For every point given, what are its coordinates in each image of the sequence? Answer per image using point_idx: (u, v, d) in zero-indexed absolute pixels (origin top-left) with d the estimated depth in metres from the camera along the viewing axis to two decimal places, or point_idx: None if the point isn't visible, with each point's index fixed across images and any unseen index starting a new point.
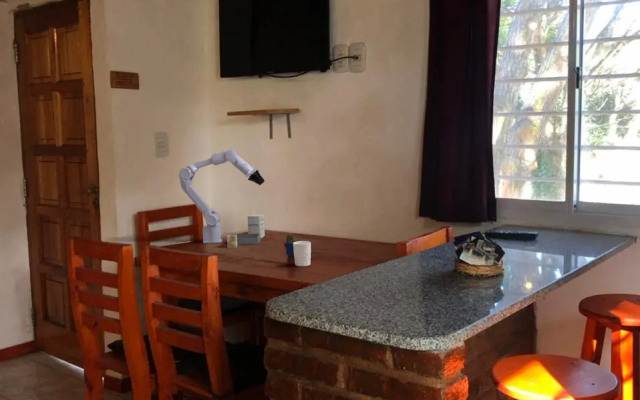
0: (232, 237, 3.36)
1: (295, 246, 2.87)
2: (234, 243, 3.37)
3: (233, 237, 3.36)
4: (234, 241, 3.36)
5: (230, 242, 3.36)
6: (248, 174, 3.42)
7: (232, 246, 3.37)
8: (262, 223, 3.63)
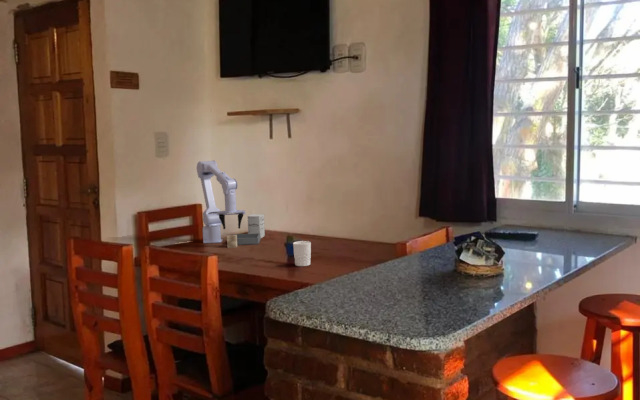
0: (232, 237, 3.36)
1: (295, 246, 2.87)
2: (234, 243, 3.37)
3: (233, 237, 3.36)
4: (234, 241, 3.36)
5: (230, 242, 3.36)
6: (217, 213, 3.37)
7: (232, 246, 3.37)
8: (262, 223, 3.63)
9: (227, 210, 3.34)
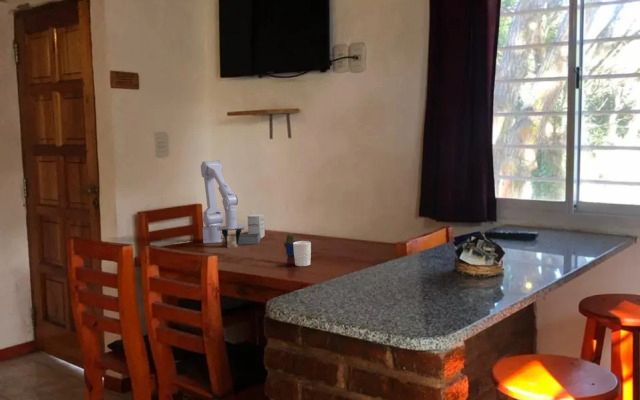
0: (232, 237, 3.36)
1: (295, 246, 2.87)
2: (234, 243, 3.37)
3: (233, 237, 3.36)
4: (234, 241, 3.36)
5: (230, 242, 3.36)
6: None
7: (232, 246, 3.37)
8: (262, 223, 3.63)
9: (227, 226, 3.35)
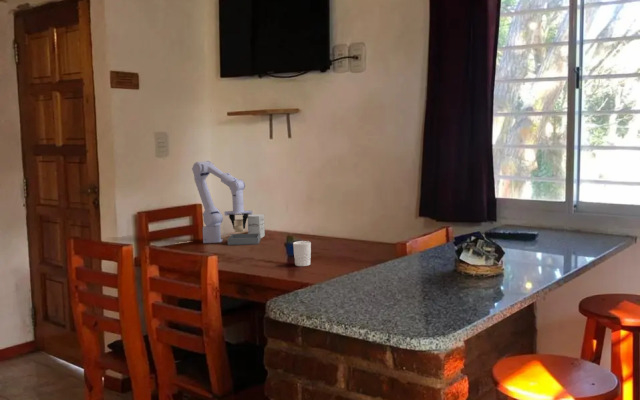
0: (239, 222, 3.42)
1: (295, 246, 2.87)
2: (241, 227, 3.42)
3: (240, 221, 3.41)
4: (241, 225, 3.42)
5: (237, 226, 3.42)
6: None
7: (239, 230, 3.42)
8: (262, 223, 3.63)
9: (235, 210, 3.41)
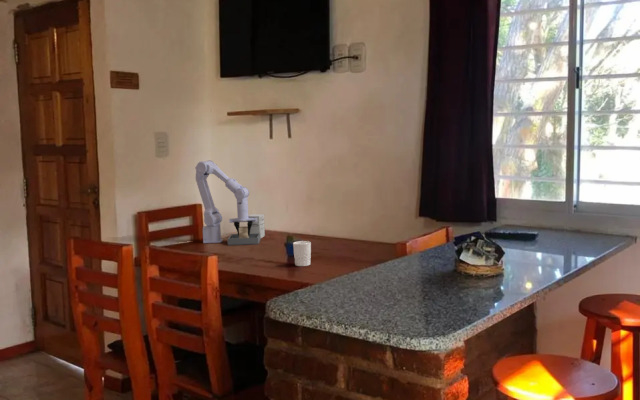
0: (244, 229, 3.46)
1: (295, 246, 2.87)
2: (246, 235, 3.46)
3: (245, 229, 3.46)
4: (246, 233, 3.46)
5: (242, 234, 3.46)
6: None
7: (244, 237, 3.46)
8: (262, 223, 3.63)
9: (239, 218, 3.45)
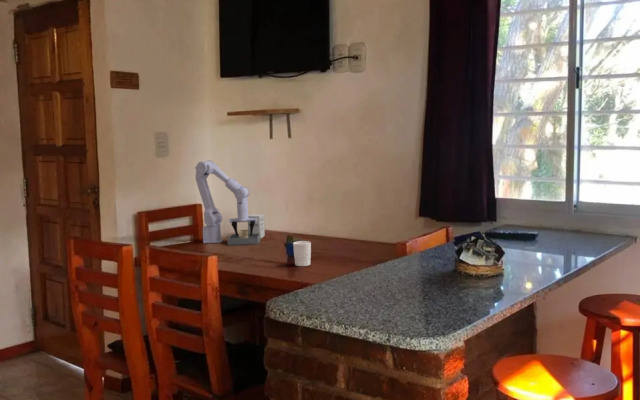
0: (244, 232, 3.46)
1: (295, 246, 2.87)
2: None
3: (245, 232, 3.46)
4: (246, 236, 3.46)
5: (242, 237, 3.46)
6: None
7: None
8: (262, 223, 3.63)
9: (239, 218, 3.45)
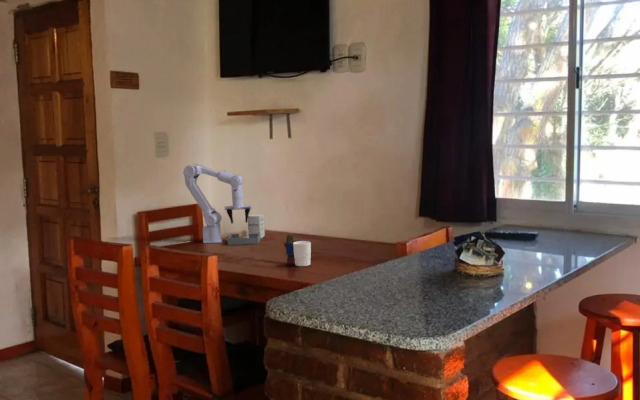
0: (244, 232, 3.46)
1: (295, 246, 2.87)
2: None
3: (245, 232, 3.46)
4: (246, 236, 3.46)
5: (242, 237, 3.46)
6: None
7: None
8: (262, 223, 3.63)
9: (234, 205, 3.47)
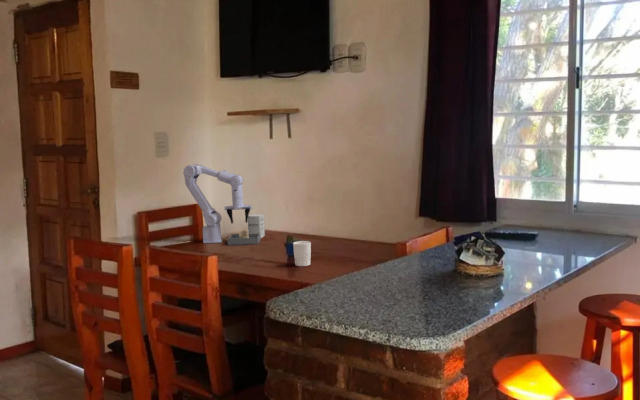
0: (244, 232, 3.46)
1: (295, 246, 2.87)
2: None
3: (245, 232, 3.46)
4: (246, 236, 3.46)
5: (242, 237, 3.46)
6: None
7: None
8: (262, 223, 3.63)
9: (234, 205, 3.47)
